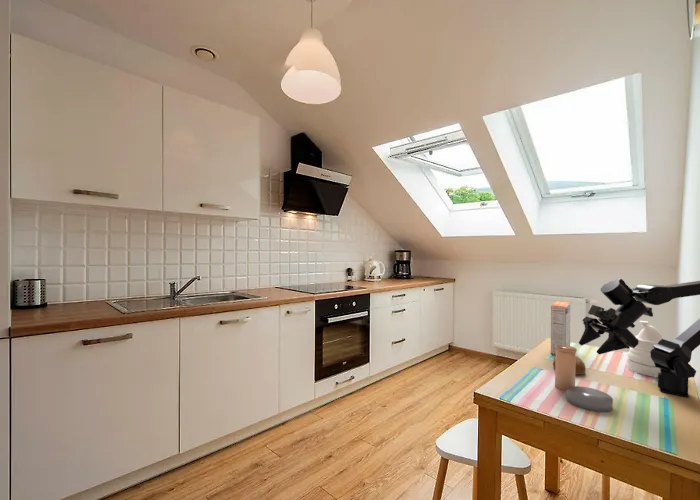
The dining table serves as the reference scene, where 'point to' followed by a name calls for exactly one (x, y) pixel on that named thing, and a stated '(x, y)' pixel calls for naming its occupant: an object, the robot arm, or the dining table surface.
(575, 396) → the round gray base plate
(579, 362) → the bread roll
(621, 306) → the robot arm
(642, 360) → the honey pot
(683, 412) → the dining table surface
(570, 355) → the tan cylindrical canister
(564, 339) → the cracker box
